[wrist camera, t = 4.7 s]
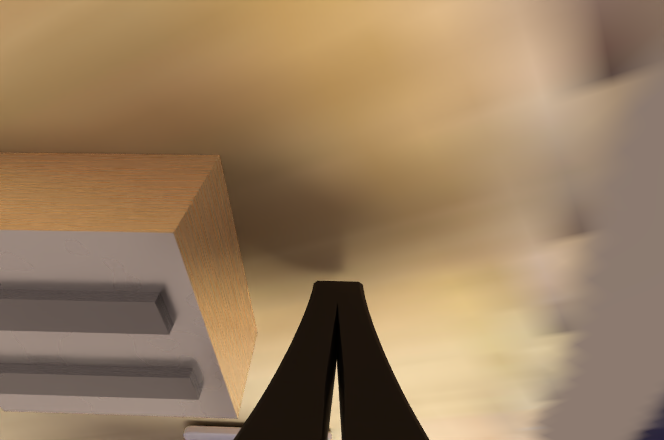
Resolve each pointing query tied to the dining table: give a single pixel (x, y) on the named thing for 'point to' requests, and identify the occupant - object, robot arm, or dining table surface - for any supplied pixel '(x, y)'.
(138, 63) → the dining table surface
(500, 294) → the dining table surface
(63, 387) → the block with grey stripes
